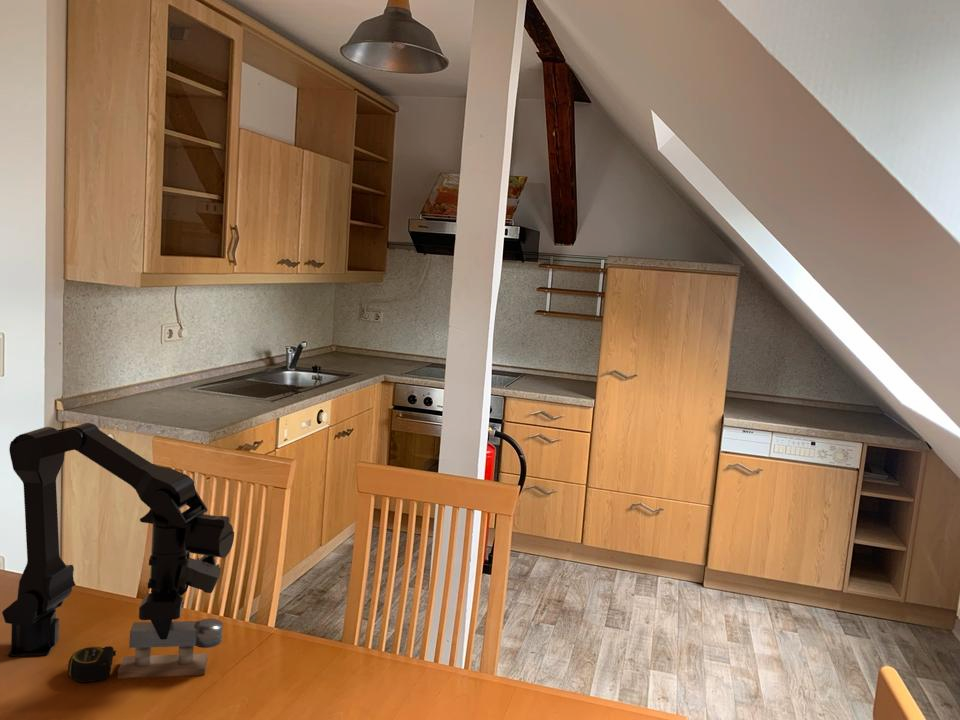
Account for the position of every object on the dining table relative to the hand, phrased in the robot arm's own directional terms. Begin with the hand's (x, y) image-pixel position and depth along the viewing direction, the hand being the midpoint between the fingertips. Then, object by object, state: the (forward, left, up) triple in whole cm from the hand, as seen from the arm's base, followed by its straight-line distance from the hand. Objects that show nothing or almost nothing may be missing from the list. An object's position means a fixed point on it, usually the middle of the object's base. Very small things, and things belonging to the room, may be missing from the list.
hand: (165, 633), depth 133 cm
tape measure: (-11, -1, -7) cm, 13 cm away
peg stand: (0, 0, -6) cm, 7 cm away
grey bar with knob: (+2, 0, -2) cm, 3 cm away
